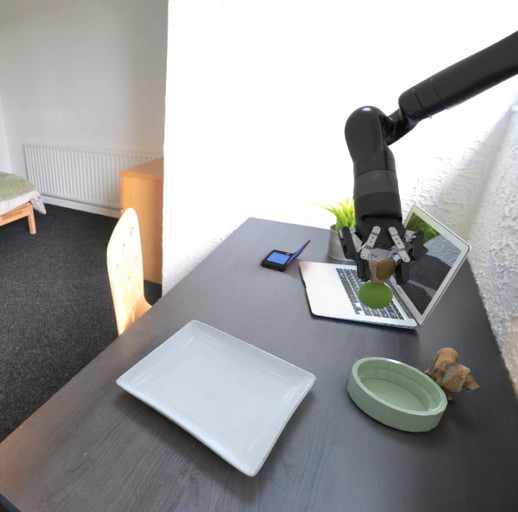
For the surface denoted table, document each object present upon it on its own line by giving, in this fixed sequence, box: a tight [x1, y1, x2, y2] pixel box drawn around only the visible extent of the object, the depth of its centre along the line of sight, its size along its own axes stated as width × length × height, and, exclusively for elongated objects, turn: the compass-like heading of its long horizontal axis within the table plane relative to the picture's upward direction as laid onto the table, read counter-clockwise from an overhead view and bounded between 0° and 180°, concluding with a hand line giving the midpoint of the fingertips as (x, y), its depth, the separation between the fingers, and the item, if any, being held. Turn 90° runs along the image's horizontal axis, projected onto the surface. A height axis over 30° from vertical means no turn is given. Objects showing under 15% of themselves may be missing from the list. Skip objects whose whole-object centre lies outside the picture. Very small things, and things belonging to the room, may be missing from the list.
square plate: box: [115, 319, 317, 478], centre depth 69 cm, size 27×27×4 cm
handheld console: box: [260, 239, 311, 272], centre depth 115 cm, size 12×11×7 cm
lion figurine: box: [423, 347, 480, 401], centre depth 68 cm, size 15×5×9 cm, turn 150°
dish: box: [346, 356, 448, 433], centre depth 66 cm, size 14×14×4 cm
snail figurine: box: [357, 252, 396, 310], centre depth 69 cm, size 5×6×12 cm
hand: (383, 282), depth 67 cm, fingers closed on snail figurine, 5 cm apart
